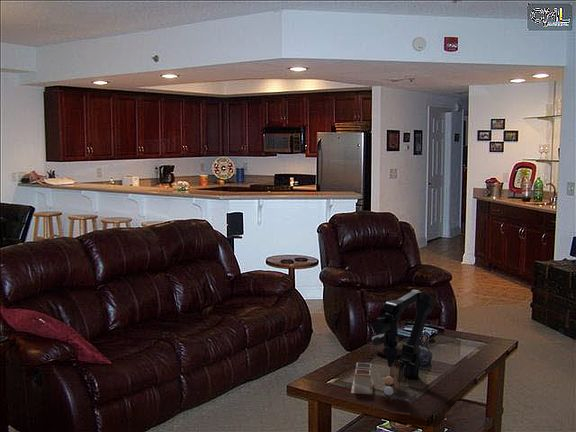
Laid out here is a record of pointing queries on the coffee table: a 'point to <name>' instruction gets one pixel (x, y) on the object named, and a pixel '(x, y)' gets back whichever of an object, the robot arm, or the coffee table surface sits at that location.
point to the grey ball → (388, 390)
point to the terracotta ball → (388, 380)
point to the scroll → (380, 348)
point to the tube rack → (362, 379)
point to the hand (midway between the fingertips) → (389, 363)
